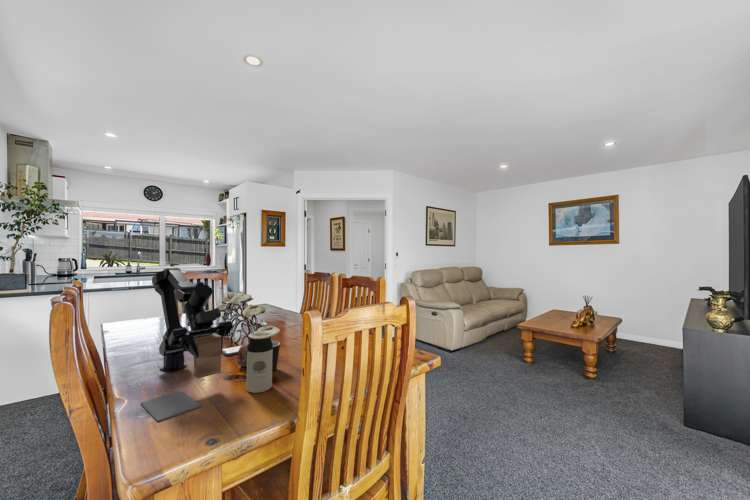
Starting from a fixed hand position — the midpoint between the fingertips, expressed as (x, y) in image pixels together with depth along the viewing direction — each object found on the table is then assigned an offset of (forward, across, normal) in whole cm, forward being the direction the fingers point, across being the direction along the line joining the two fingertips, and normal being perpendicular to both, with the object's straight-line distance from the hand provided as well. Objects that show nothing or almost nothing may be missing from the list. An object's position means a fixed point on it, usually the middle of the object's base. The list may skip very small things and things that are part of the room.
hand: (209, 354), depth 101 cm
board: (+4, 0, +6) cm, 7 cm away
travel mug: (+15, +12, +2) cm, 20 cm away
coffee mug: (+6, +22, +12) cm, 26 cm away
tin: (-2, +23, +20) cm, 30 cm away
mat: (+9, -11, +8) cm, 16 cm away
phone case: (-14, +28, +33) cm, 45 cm away
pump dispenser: (-27, +18, +45) cm, 55 cm away
